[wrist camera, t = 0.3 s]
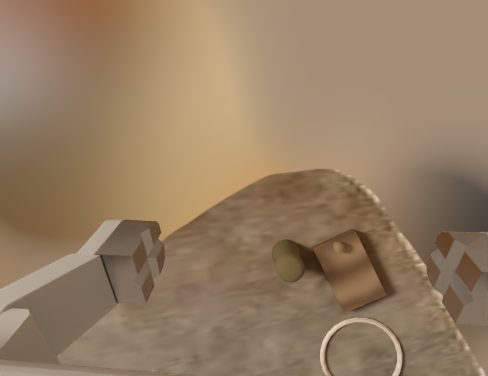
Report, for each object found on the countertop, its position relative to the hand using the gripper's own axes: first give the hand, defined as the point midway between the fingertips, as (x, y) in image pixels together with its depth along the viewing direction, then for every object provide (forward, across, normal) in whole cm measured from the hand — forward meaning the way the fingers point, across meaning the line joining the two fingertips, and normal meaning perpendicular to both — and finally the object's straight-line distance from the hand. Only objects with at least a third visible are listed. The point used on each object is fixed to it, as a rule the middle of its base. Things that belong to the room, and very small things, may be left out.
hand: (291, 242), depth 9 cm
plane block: (+39, +16, -39) cm, 57 cm away
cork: (+40, +3, -37) cm, 55 cm away
